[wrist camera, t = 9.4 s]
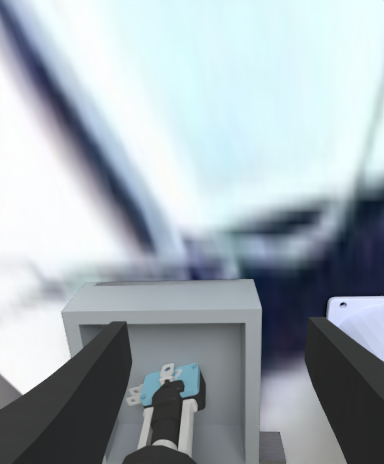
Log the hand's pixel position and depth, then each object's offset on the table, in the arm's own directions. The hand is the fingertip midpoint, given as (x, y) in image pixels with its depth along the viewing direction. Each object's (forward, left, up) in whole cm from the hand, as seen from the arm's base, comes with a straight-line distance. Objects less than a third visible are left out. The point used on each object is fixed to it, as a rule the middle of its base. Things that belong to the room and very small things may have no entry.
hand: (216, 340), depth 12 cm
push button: (+4, +12, -10) cm, 16 cm away
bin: (+4, +10, -10) cm, 15 cm away
